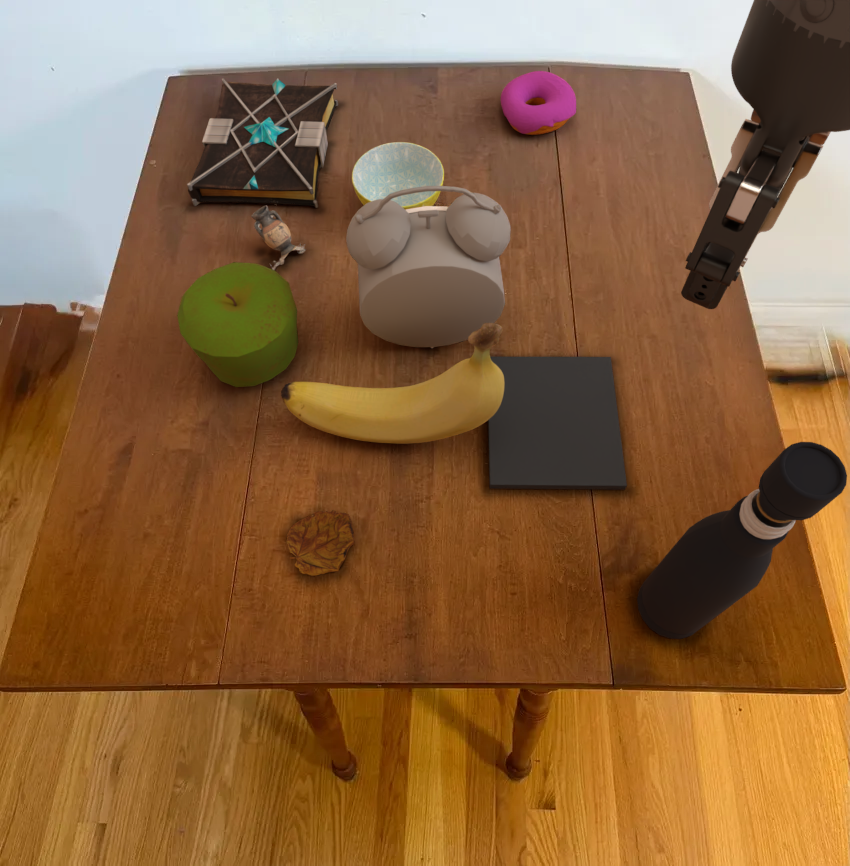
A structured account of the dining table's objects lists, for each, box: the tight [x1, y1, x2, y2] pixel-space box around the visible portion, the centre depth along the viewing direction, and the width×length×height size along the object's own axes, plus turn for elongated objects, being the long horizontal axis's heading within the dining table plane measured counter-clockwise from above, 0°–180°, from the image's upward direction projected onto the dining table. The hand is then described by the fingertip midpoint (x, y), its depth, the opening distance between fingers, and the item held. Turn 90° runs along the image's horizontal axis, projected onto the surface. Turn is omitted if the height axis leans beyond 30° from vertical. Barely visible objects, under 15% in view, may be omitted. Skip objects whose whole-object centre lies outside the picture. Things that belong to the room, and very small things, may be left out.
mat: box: [487, 356, 628, 491], centre depth 78 cm, size 14×16×1 cm
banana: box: [280, 322, 504, 445], centre depth 69 cm, size 23×6×20 cm, turn 84°
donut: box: [500, 70, 577, 136], centre depth 100 cm, size 10×10×5 cm
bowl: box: [351, 141, 445, 210], centre depth 91 cm, size 11×12×6 cm
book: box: [186, 77, 339, 209], centre depth 98 cm, size 22×17×5 cm
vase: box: [251, 205, 307, 270], centre depth 88 cm, size 5×5×6 cm
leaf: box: [285, 509, 355, 577], centre depth 71 cm, size 6×7×2 cm
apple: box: [177, 261, 299, 388], centre depth 78 cm, size 12×12×11 cm
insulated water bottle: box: [636, 441, 848, 640], centre depth 55 cm, size 6×6×30 cm
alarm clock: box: [345, 185, 512, 349], centre depth 75 cm, size 16×9×22 cm, turn 94°
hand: (725, 253), depth 44 cm, fingers open, 8 cm apart
